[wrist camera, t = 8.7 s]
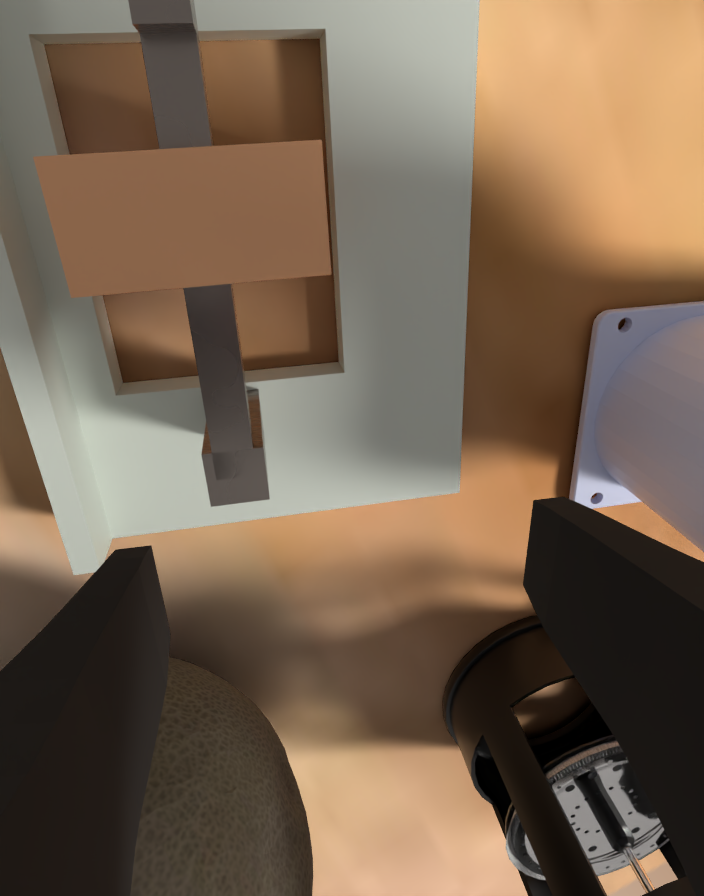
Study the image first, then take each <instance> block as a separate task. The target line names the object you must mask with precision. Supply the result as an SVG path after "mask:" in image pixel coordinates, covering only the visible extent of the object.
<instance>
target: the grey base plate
mask: <svg viewBox="0 0 704 896" xmlns="http://www.w3.org/2000/svg"><path fill="white" fill-rule="evenodd" d="M194 4H195V11H196V19H197V26H198V34H199V41H228V40H274V39H320V53H321V70H322V87H323V104H324V121H325V138H326V155H327V171H328V188H329V205H330V222H331V239H332V256H333V273H334V290H335V307H336V324H337V341H338V358H339V362H332V363H321V364H311V365H301V366H291V367H281V368H270V369H260V370H250V371H244V375H245V382H246V389H247V390H255V389H258V390H259V398H260V406H261V414H262V422H263V430H264V440H265V451H266V462H267V473H268V485H269V496H270V499H269V500H261V501H253V502H246V503H238V504H230V505H222V506H214V507H211V505H210V499H209V494H208V488H207V483H206V477H205V472H204V466H203V461H202V455H201V454H202V446H203V439H204V432H205V425H206V417H205V411H204V405H203V399H202V393H201V388H200V382H199V376H189V377H179V378H168V379H158V380H148V381H138V382H128V383H123V381H122V376H121V372H120V368H119V363H118V359H117V355H116V351H115V346H114V342H113V338H112V333H111V329H110V325H109V321H108V316H107V312H106V308H105V304H104V299H103V295H100V296H89V297H78V298H71V296H70V292H69V288H68V284H67V281H66V277H65V273H64V270H63V266H62V262H61V259H60V255H59V251H58V247H57V244H56V240H55V236H54V233H53V229H52V225H51V222H50V218H49V214H48V211H47V207H46V203H45V199H44V196H43V192H42V188H41V185H40V181H39V177H38V174H37V170H36V166H35V162H34V159H33V157H36V156H53V155H70V154H69V149H68V145H67V141H66V137H65V132H64V128H63V124H62V119H61V115H60V111H59V107H58V102H57V98H56V94H55V89H54V85H53V81H52V77H51V72H50V68H49V64H48V59H47V55H46V51H45V47H44V44H90V43H136V42H141V38H140V34H139V32H138V31H137V30H136V28H135V27H134V26H133V24H132V19H131V14H130V8H129V2H128V0H0V348H1V351H2V354H3V358H4V361H5V364H6V367H7V370H8V373H9V376H10V379H11V382H12V385H13V389H14V392H15V395H16V398H17V401H18V404H19V407H20V410H21V413H22V416H23V419H24V423H25V426H26V429H27V432H28V435H29V438H30V441H31V444H32V447H33V450H34V453H35V457H36V460H37V463H38V466H39V469H40V472H41V475H42V478H43V481H44V484H45V488H46V491H47V494H48V497H49V500H50V503H51V506H52V509H53V512H54V515H55V518H56V522H57V525H58V528H59V531H60V534H61V537H62V540H63V543H64V546H65V549H66V553H67V556H68V559H69V562H70V565H71V568H72V571H73V574H74V575H79V574H86V573H93V572H96V571H97V570H98V569H99V567H100V566H101V565H102V564H103V563H104V561H105V558H106V556H107V553H108V550H109V547H110V544H111V541H112V539H113V538H121V537H128V536H136V535H143V534H151V533H158V532H166V531H173V530H181V529H188V528H196V527H203V526H211V525H218V524H226V523H234V522H241V521H249V520H256V519H264V518H271V517H279V516H286V515H294V514H301V513H309V512H316V511H324V510H332V509H339V508H347V507H354V506H362V505H369V504H377V503H384V502H392V501H399V500H407V499H414V498H422V497H429V496H437V495H445V494H452V493H459V492H460V468H461V443H462V418H463V394H464V369H465V345H466V320H467V295H468V271H469V246H470V222H471V197H472V173H473V148H474V123H475V99H476V74H477V50H478V25H479V0H194Z"/></svg>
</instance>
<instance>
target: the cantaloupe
mask: <svg viewBox="0 0 704 896" xmlns="http://www.w3.org/2000/svg"><path fill="white" fill-rule="evenodd" d="M312 885H313V857H312V847H311V840H310V832H309V827H308V822H307V816H306V811H305V808H304V805H303V802H302V798H301V795H300V791H299V788H298V785H297V782H296V779H295V777H294V774H293V772H292V769H291V767H290V764H289V762H288V758H287V755H286V751H285V749H284V747H283V745H282V743H281V741H280V739H279V737H278V735H277V733H276V732H275V730H274V729H273V727H272V725H271V724H270V722H269V721H268V719H267V718H266V717H265V716H264V714H263V713H262V712H261V711H260V709H259V708H258V707H257V706H256V705H255V704H254V703H253V702H252V701H251V700H250V699H248V698H247V697H246V696H245V695H243V694H242V693H241V692H240V691H238V690H237V689H236V688H235V687H233V686H232V685H231V684H230V683H228V682H227V681H226V680H224V679H222V678H221V677H219V676H217V675H215V674H214V673H212V672H209V671H207V670H205V669H203V668H201V667H199V666H197V665H195V664H192V663H189V662H186V661H183V660H180V659H175V658H171V657H169V665H168V676H167V687H166V692H165V698H164V703H163V708H162V713H161V718H160V723H159V728H158V733H157V738H156V743H155V748H154V753H153V757H152V762H151V767H150V772H149V777H148V782H147V787H146V792H145V796H144V801H143V806H142V811H141V816H140V822H139V828H138V835H137V841H136V847H135V856H134V865H133V875H132V884H131V893H130V896H312Z"/></svg>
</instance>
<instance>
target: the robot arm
mask: <svg viewBox="0 0 704 896" xmlns="http://www.w3.org/2000/svg"><path fill="white" fill-rule="evenodd" d="M623 318H625V324H624V326H623V327H622V328H621V329H618V324H619V322H620V321H621V320H622V319H623ZM595 493H597V495H596V496H595V497H594V498H592V499H591V497H592V496H593V495H594V494H595ZM636 502H643V503H644V504H646V505H647V506H648V507H649V508H651V509H652V510H653V511H654V512H655V513H657V514H658V515H659V516H660V517H662V518H663V519H664V520H665V521H666V522H668V523H669V524H670V525H671V526H672V527H674V528H675V529H676V530H677V531H679V532H680V533H681V534H682V535H683V536H685V537H686V538H687V539H688V540H690V541H691V542H692V543H693V544H694V545H696V546H697V547H698V548H699V549H701V550H702V551H703V552H704V301H698V302H687V303H676V304H665V305H654V306H643V307H632V308H621V309H610V310H605V311H603V312H601V313H600V314H599V315H598V316H597V317H596V318H595V320H594V323H593V328H592V335H591V342H590V350H589V357H588V364H587V371H586V379H585V386H584V393H583V400H582V408H581V415H580V422H579V429H578V436H577V444H576V451H575V458H574V465H573V473H572V480H571V487H570V494H569V499H568V498H565V497H557V498H548V499H540V500H534V501H533V509H532V517H531V525H530V533H529V541H528V549H527V557H526V565H525V573H524V581H523V585H524V588H525V590H526V592H527V594H528V596H529V599H530V601H531V603H532V605H533V607H534V610H535V612H536V614H537V616H538V618H539V620H540V622H541V624H542V626H543V628H544V630H545V631H546V633H547V634H548V636H549V638H550V639H551V641H552V642H553V644H554V645H555V647H556V648H557V650H558V652H559V653H560V655H561V656H562V658H563V659H564V661H565V662H566V664H567V665H568V667H569V668H570V670H571V671H572V673H573V675H574V676H575V678H576V679H577V681H578V682H579V684H580V685H581V687H582V688H583V690H584V691H585V693H586V694H587V696H588V697H589V699H590V700H591V702H592V703H593V705H594V706H595V708H596V709H597V711H598V712H599V714H600V715H601V717H602V718H603V720H604V721H605V723H606V724H607V726H608V727H609V729H610V730H611V732H612V734H613V735H614V737H615V739H616V740H617V742H618V744H619V745H620V747H621V749H622V750H623V752H624V754H625V755H626V757H627V759H628V761H629V763H630V765H631V767H632V769H633V770H634V772H635V774H636V776H637V778H638V780H639V782H640V784H641V786H642V787H643V789H644V791H645V793H646V795H647V797H648V799H649V801H650V802H651V804H652V806H653V808H654V810H655V812H656V814H657V816H658V818H659V820H660V822H661V824H662V826H663V828H664V830H665V832H666V834H667V836H668V838H669V840H670V842H671V844H672V846H673V848H674V850H675V852H676V854H677V856H678V858H679V860H680V862H681V864H682V866H683V868H684V870H685V873H686V875H687V877H688V879H689V881H690V883H691V885H692V888H693V890H694V892H695V894H696V896H704V562H702V561H700V560H697V559H695V558H693V557H691V556H688V555H686V554H684V553H682V552H680V551H678V550H675V549H673V548H671V547H669V546H667V545H665V544H663V543H661V542H658V541H656V540H654V539H652V538H650V537H648V536H646V535H644V534H642V533H640V532H638V531H636V530H634V529H632V528H630V527H628V526H626V525H624V524H622V523H620V522H618V521H615V520H613V519H611V518H609V517H607V516H605V515H603V514H601V513H599V512H597V511H595V510H593V509H594V508H601V507H608V506H615V505H622V504H629V503H636ZM170 635H171V633H170V629H169V624H168V620H167V615H166V611H165V606H164V601H163V597H162V592H161V588H160V583H159V579H158V574H157V570H156V565H155V561H154V556H153V552H152V547H151V546H143V547H135V548H127V549H118V550H115V551H114V552H113V553H112V554H111V555H110V556H109V557H108V559H107V560H106V561H105V562H104V563H103V564H102V565H101V566H100V567H99V569H98V570H97V571H96V572H95V573H94V574H93V575H92V576H91V577H90V579H89V580H88V581H87V582H86V583H85V584H84V585H83V586H82V588H81V589H80V590H79V591H78V592H77V593H76V594H75V595H74V596H73V598H72V599H71V600H70V601H69V602H68V603H67V604H66V605H65V606H64V607H63V608H62V610H61V611H60V612H59V613H58V614H57V615H56V616H55V617H54V618H53V619H52V620H51V621H50V622H49V624H48V625H47V626H46V627H45V628H44V629H43V630H42V631H41V632H40V633H39V634H38V635H37V636H36V637H35V638H34V639H33V640H32V641H31V642H30V643H29V644H28V645H27V646H26V647H25V648H24V649H23V650H22V651H21V652H20V653H19V654H18V655H17V656H16V657H15V658H13V659H12V660H11V661H10V662H9V663H8V664H7V665H6V666H5V667H4V668H3V669H2V670H1V671H0V896H130V893H131V884H132V875H133V865H134V856H135V847H136V841H137V835H138V828H139V822H140V816H141V811H142V806H143V801H144V796H145V792H146V787H147V782H148V777H149V772H150V767H151V762H152V757H153V753H154V748H155V743H156V738H157V733H158V728H159V723H160V718H161V713H162V708H163V703H164V698H165V692H166V687H167V676H168V665H169V650H170Z"/></svg>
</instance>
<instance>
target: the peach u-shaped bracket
mask: <svg viewBox="0 0 704 896" xmlns="http://www.w3.org/2000/svg"><path fill="white" fill-rule="evenodd" d="M33 159H34V162H35V166H36V170H37V174H38V177H39V181H40V185H41V188H42V192H43V196H44V199H45V203H46V207H47V211H48V214H49V218H50V222H51V225H52V229H53V233H54V236H55V240H56V244H57V247H58V251H59V255H60V259H61V262H62V266H63V270H64V273H65V277H66V281H67V284H68V288H69V292H70V296H71V298H78V297H89V296H100V295H111V294H122V293H133V292H144V291H156V290H167V289H178V288H189V287H200V286H211V285H222V284H233V283H244V282H256V281H267V280H278V279H289V278H300V277H311V276H322V275H331V262H330V248H329V235H328V221H327V207H326V193H325V179H324V165H323V152H322V140H306V141H289V142H272V143H255V144H238V145H222V146H205V147H188V148H171V149H154V150H137V151H120V152H103V153H87V154H70V155H53V156H36V157H33Z"/></svg>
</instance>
